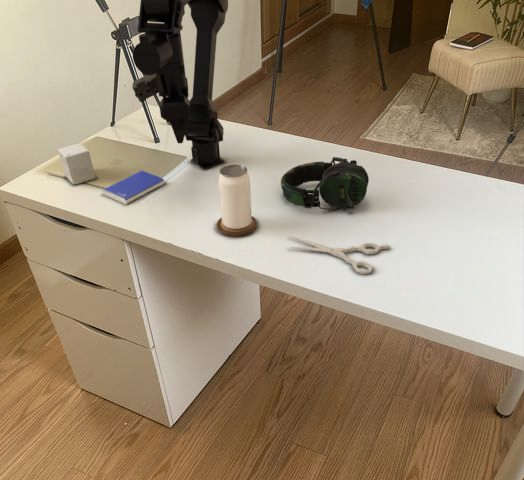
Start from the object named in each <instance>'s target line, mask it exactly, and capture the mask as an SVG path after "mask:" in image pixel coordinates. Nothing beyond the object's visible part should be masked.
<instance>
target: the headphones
mask: <svg viewBox="0 0 524 480" xmlns="http://www.w3.org/2000/svg"><path fill="white" fill-rule="evenodd" d="M336 162H338V163H336ZM369 181H370V178H369V174H368V172H367V170H366V169H365V168H364V166H362V165H358V162H357V160H356V159H352V160H350V161H348V159H347V158H342V157H337V156H334V157H332V159H331V161H330V162H325V161H312V162H307V163H306V162H305V163H303V164H298V165H295V166H294V167H291V168H290V169H289V170H287V171H286V172H285V173H284V174H283V175H282V176H281V178H280V187H281V191H282V195H283V197H284V198H285V200H286V201H287V202H289V203H290V204H293V205H295V206H299V207H303V208H304V209H309V210H311V209H312V208H319V209H320V210H322V211H338V210H342V211H347V210H353V209H354V208H355V207H357V206H358V205H360V204H361V202H363V200H364V199H365V197H366V194H367V191H368V187H369ZM311 182H312V183H313V182H318V183H317V184H316V186H315V187H314V189H307V188H300V186H301V185H303V184H308V183H311ZM320 198H321V200H322V201H323V202H324V203H325V204H327V205H329V206H331V207H332V208H325V207H321V201H320Z"/></svg>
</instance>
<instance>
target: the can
mask: <svg viewBox="0 0 524 480" xmlns="http://www.w3.org/2000/svg"><path fill="white" fill-rule="evenodd" d="M218 191H219V192H218V193H219V201H220V203H219V204H220V214H221V218H222V223H223V225H225V226H226V227H227V228H229V229H243V228H245V227H247V226H248V225H249V224H250V223H251V220H252V219H251V216H252V197H251V177H250V174H249V172H248V167H246V166H245V165H242V164H238V163H232V164H231V163H230V164H227V165H224V166H222V167H221V168H220V169H219V175H218Z"/></svg>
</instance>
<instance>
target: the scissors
mask: <svg viewBox="0 0 524 480" xmlns="http://www.w3.org/2000/svg"><path fill="white" fill-rule="evenodd" d="M293 238H294V239H296V240H299V241H301V242H304V243H306V244H309V245H311V246H314V247H308V246H307V247H306V246H291V248H293V249H298V250H299V249H300V250H305V251H314V252H322V253H328V254H330V255H332V256H335V257H338V258H339V259H343V260H344V261H345V262H346V263H347V264H350V265H352V267H353V270H354V271H355V272H356V273H358V274H362V275H367V274H368V275H369V274H371V273H372V270H373V266H372V265H371V264H370V263H368V262H367V261H364V260H359V261H356V260H354V259H351V258H349V257H348V256H347V255H346V254H345V253H350V252H362V253H363V254H366V255H375V254H377V253H378V252H379V251H380V250H389V247H390V245H389V244H376V243H374V242H365V243H362V245H359V246H351V247H348V248H347V247H346V248H344V247H329V246H325V245H322V244H320V243H316V242H313V241H309V240H306V239H303V238H299V237H296V236H293ZM367 248H374V249H367ZM361 266H362V267H365V268H367V269H362V268H361V269H360V268H359V267H361Z"/></svg>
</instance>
